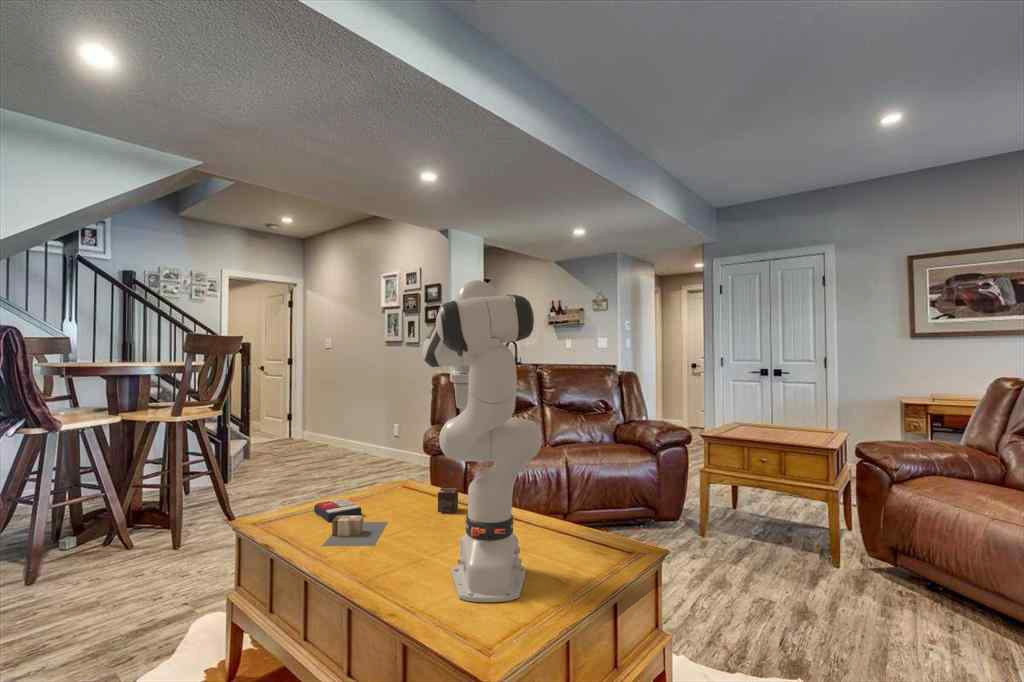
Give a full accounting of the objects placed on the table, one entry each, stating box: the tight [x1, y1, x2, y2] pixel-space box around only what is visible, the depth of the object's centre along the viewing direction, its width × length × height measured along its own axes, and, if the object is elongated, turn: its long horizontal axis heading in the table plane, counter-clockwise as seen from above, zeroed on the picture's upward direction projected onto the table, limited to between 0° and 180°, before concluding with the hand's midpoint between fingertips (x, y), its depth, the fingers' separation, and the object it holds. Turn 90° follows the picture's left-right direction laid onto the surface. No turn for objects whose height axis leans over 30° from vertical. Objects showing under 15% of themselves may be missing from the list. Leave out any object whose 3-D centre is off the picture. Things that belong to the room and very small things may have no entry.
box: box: [437, 487, 459, 514], centre depth 177 cm, size 6×6×7 cm
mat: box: [321, 521, 389, 547], centre depth 153 cm, size 20×15×1 cm
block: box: [331, 515, 364, 536], centre depth 152 cm, size 4×4×8 cm
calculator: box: [313, 498, 362, 524], centre depth 171 cm, size 11×4×15 cm
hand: (463, 420), depth 160 cm, fingers closed
